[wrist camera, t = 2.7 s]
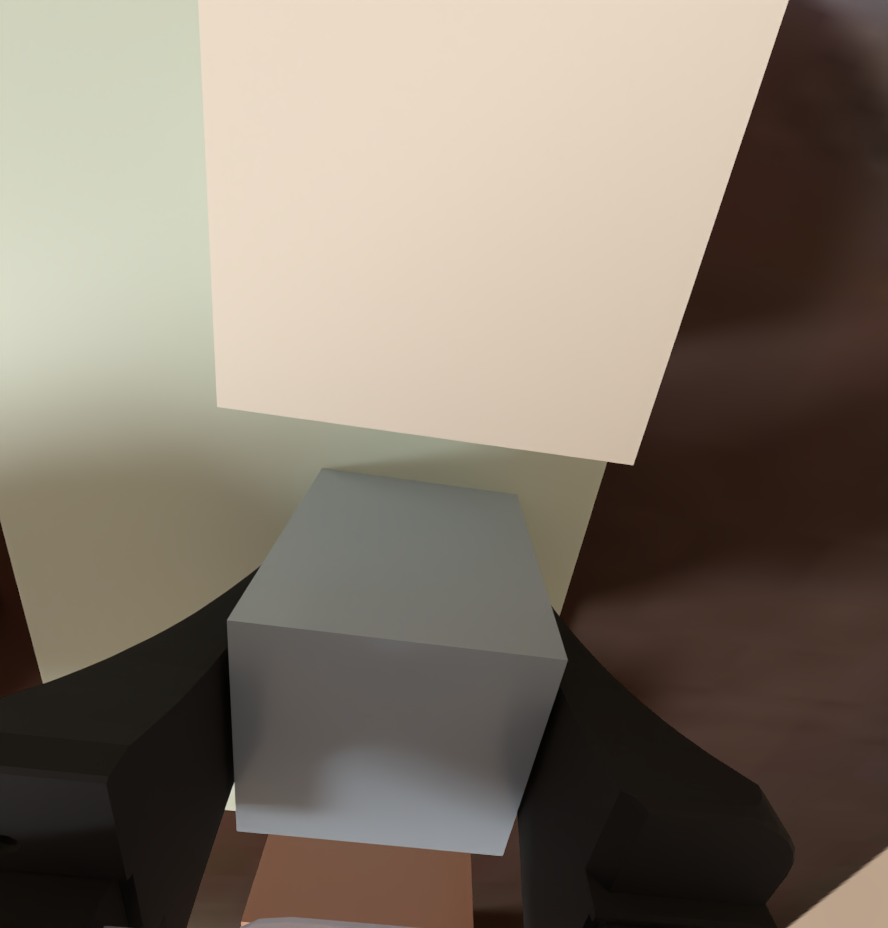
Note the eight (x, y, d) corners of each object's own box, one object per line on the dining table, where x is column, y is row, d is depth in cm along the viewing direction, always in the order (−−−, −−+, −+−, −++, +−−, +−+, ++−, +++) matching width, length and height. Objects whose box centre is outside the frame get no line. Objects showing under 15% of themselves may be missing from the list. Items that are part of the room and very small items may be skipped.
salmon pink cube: (442, 811, 19) (441, 1039, 13) (306, 798, 18) (246, 1025, 13) (464, 716, 17) (473, 941, 11) (310, 700, 16) (240, 921, 11)
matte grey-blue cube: (482, 642, 15) (502, 856, 10) (314, 622, 15) (236, 831, 9) (516, 494, 13) (567, 660, 8) (322, 468, 13) (227, 620, 7)
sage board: (489, 809, 20) (491, 835, 19) (90, 769, 19) (72, 795, 18) (707, 74, 10) (732, 54, 9) (-106, -78, 9) (-168, -116, 8)
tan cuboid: (545, 372, 12) (633, 465, 6) (328, 340, 11) (217, 406, 6) (606, 111, 10) (823, -103, 4) (341, 63, 9) (187, -237, 4)
